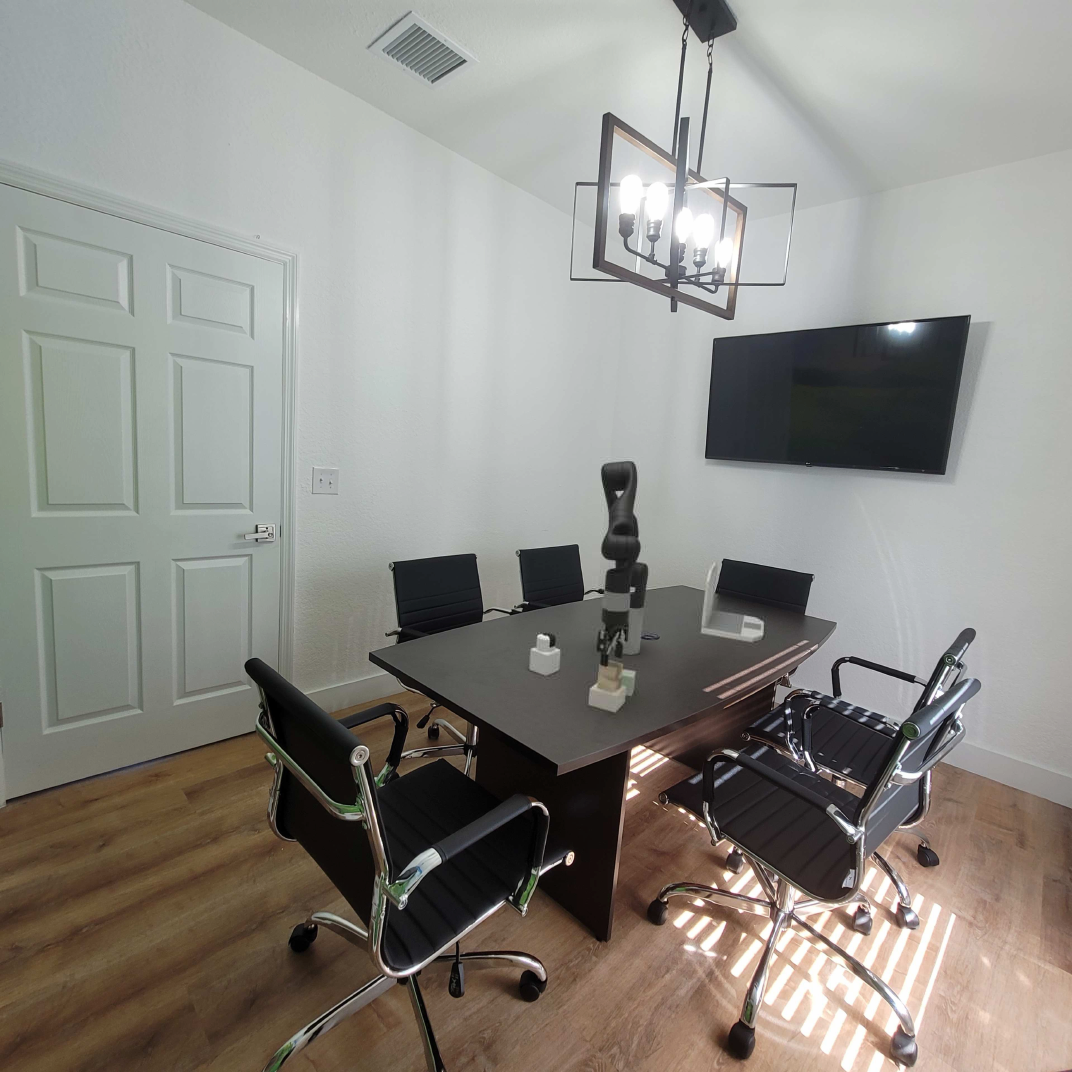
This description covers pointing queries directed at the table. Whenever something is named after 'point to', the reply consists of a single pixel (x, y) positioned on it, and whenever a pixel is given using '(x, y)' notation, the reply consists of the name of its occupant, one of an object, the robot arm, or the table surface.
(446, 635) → the table surface
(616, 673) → the maple block
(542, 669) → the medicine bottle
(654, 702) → the table surface
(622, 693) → the cream base block
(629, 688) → the sage block
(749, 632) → the laptop
